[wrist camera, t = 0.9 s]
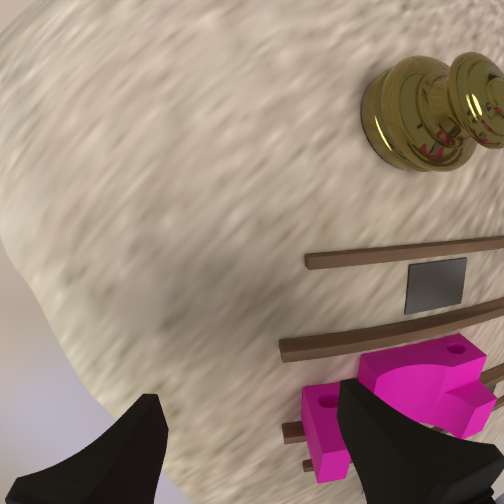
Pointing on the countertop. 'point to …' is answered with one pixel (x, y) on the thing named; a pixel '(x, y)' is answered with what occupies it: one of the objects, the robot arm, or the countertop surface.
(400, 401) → the magenta curved bracket
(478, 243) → the wooden slat rack
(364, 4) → the countertop surface
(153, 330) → the countertop surface
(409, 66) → the gold tapered round piece
